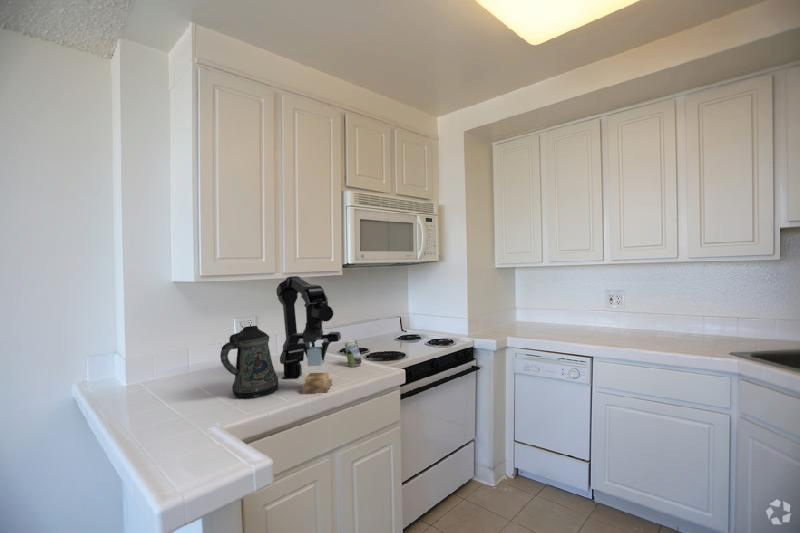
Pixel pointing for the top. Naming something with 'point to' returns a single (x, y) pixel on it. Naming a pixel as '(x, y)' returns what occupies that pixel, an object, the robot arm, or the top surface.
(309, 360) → the slate block
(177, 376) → the top surface
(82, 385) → the top surface
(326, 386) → the bottom block
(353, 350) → the beverage can
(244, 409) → the top surface
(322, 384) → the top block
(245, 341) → the beer stein
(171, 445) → the top surface
